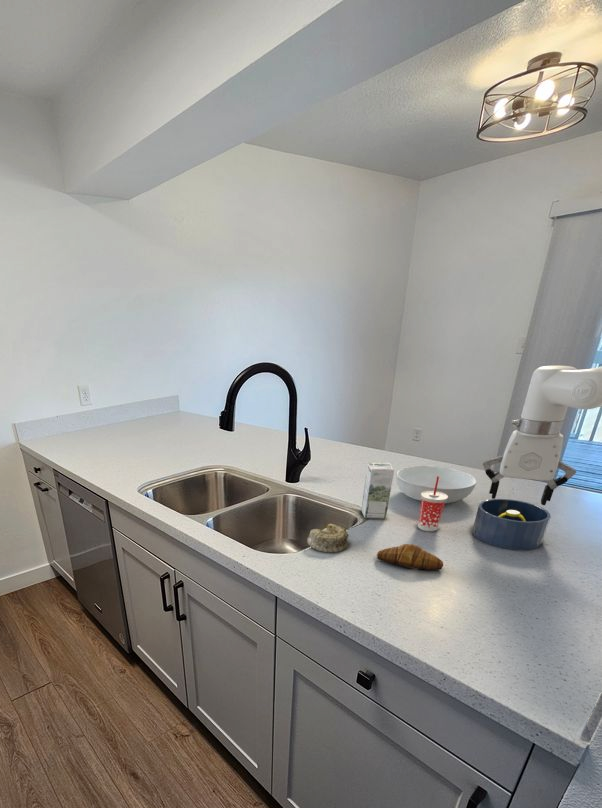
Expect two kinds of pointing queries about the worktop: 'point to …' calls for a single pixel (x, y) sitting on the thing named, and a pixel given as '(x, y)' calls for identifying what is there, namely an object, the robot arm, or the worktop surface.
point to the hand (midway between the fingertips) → (517, 499)
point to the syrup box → (377, 490)
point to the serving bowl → (425, 478)
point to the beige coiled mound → (328, 539)
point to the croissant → (410, 557)
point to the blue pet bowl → (511, 524)
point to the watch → (512, 514)
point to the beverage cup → (431, 509)
